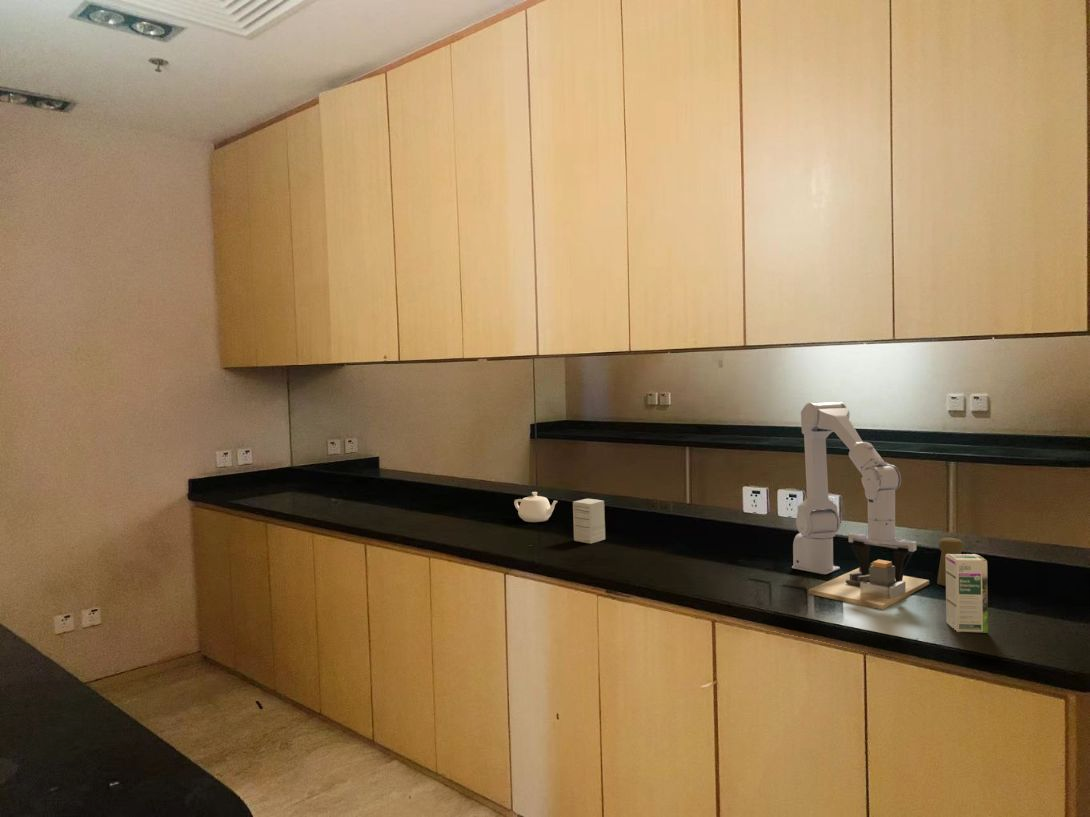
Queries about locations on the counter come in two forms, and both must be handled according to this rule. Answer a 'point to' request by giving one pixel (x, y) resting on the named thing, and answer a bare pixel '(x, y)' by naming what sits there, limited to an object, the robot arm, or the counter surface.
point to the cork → (947, 548)
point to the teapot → (534, 508)
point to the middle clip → (859, 577)
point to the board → (852, 594)
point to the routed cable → (855, 582)
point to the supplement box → (589, 520)
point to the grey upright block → (882, 573)
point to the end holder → (883, 589)
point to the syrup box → (966, 592)
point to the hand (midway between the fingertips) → (881, 577)
